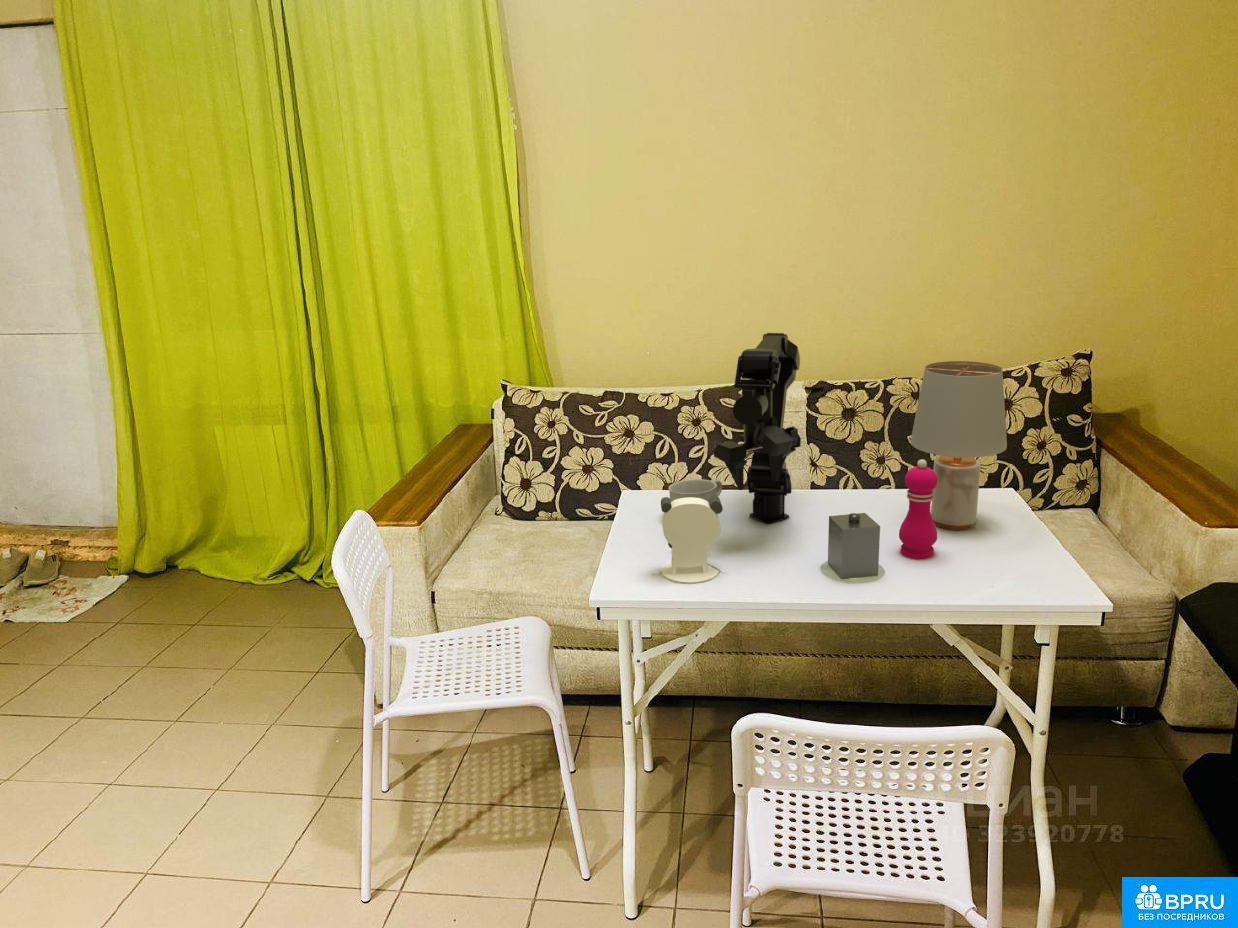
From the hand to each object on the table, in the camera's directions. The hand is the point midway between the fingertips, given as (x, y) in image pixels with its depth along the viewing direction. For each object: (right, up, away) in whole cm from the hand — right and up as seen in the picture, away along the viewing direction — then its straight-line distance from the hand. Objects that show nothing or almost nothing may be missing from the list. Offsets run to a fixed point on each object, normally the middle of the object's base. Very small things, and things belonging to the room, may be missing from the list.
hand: (757, 484), depth 192 cm
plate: (+16, -16, -15) cm, 27 cm away
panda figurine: (-14, -17, -11) cm, 25 cm away
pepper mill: (+30, -14, -8) cm, 34 cm away
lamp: (+43, -9, +7) cm, 44 cm away
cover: (+16, -16, -15) cm, 27 cm away
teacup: (-11, -8, +18) cm, 22 cm away
